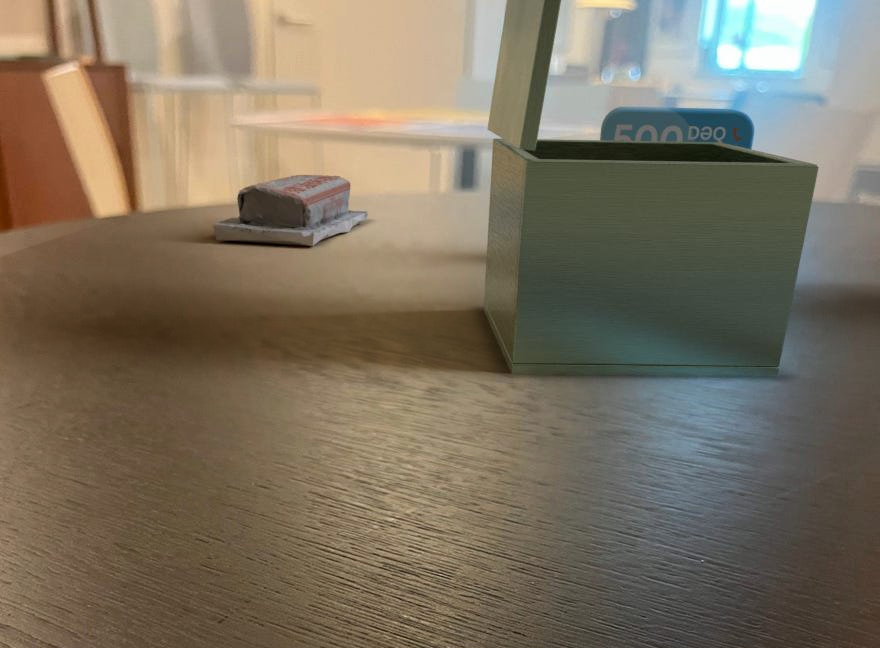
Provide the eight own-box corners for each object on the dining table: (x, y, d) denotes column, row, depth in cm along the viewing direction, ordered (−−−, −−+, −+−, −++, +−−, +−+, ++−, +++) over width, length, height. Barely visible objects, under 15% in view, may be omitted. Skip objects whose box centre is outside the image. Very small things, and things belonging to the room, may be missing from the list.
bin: (694, 316, 70) (721, 142, 65) (776, 381, 56) (819, 164, 50) (483, 313, 70) (493, 138, 65) (511, 378, 55) (526, 160, 50)
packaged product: (278, 169, 108) (368, 173, 106) (279, 219, 110) (368, 223, 108) (208, 186, 93) (313, 191, 91) (212, 242, 95) (314, 248, 93)
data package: (589, 264, 88) (605, 107, 82) (588, 256, 92) (603, 106, 86) (731, 270, 87) (758, 111, 81) (724, 261, 90) (749, 109, 85)
